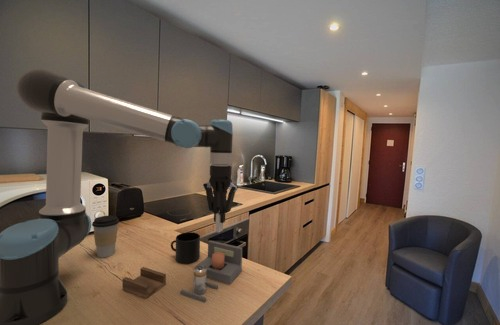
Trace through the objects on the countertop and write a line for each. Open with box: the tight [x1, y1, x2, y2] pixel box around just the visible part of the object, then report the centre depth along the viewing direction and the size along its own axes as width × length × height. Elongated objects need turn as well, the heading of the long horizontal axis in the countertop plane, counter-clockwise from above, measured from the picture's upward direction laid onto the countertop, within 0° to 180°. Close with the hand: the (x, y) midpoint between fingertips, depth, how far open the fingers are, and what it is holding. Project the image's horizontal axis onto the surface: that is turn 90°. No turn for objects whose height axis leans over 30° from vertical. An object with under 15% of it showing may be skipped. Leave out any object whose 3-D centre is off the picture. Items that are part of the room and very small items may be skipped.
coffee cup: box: [91, 214, 120, 258], centre depth 94 cm, size 9×9×15 cm
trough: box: [121, 266, 167, 299], centre depth 74 cm, size 8×10×3 cm
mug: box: [170, 231, 201, 264], centre depth 94 cm, size 9×12×9 cm
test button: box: [212, 252, 225, 270], centre depth 83 cm, size 4×4×4 cm
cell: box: [192, 266, 208, 296], centre depth 73 cm, size 4×4×8 cm
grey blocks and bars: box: [179, 240, 243, 303], centre depth 79 cm, size 20×14×9 cm
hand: (219, 230), depth 82 cm, fingers closed
